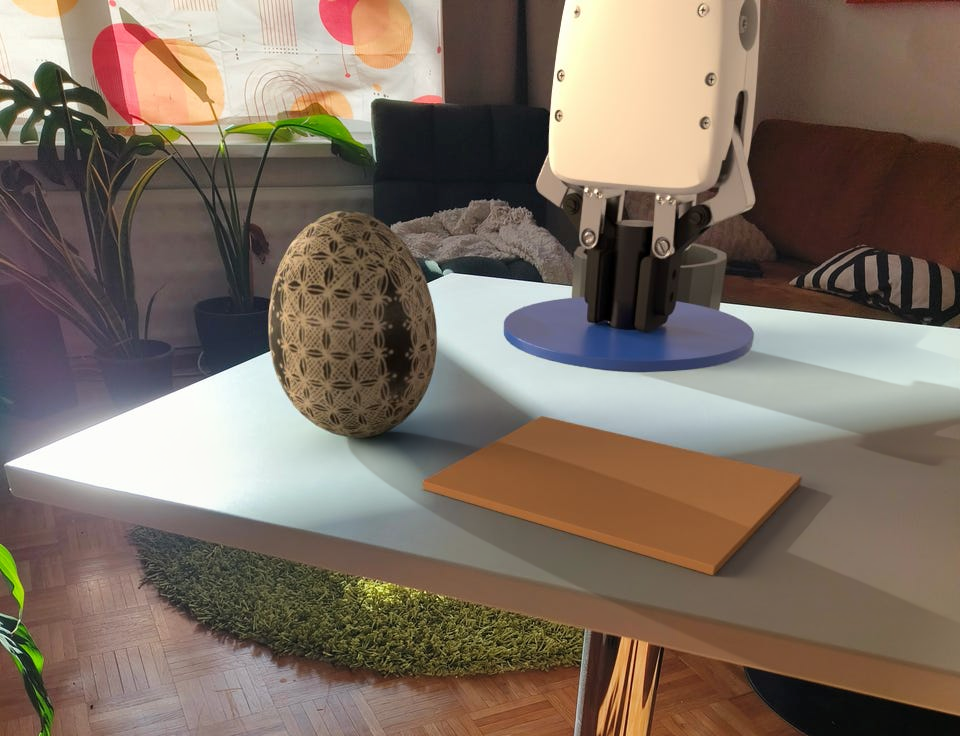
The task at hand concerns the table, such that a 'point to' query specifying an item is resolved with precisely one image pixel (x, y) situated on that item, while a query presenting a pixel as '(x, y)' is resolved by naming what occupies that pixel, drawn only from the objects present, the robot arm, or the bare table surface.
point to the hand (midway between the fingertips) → (627, 320)
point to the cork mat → (620, 491)
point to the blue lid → (628, 323)
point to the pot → (695, 280)
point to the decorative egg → (352, 326)
